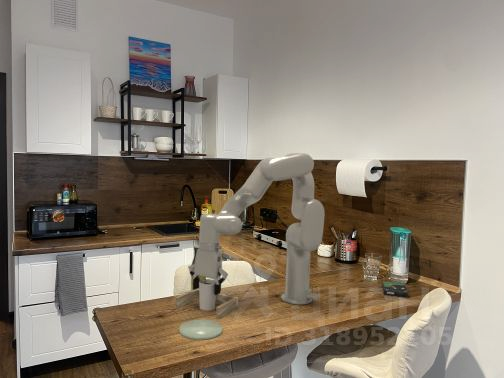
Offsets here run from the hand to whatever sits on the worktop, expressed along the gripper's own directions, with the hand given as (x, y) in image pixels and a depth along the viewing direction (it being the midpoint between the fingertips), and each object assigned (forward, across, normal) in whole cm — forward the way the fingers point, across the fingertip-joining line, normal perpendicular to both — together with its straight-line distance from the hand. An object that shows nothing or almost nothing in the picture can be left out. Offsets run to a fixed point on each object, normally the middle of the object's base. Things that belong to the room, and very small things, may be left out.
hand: (206, 291), depth 152 cm
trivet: (+6, -10, +18) cm, 21 cm away
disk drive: (+5, -58, -64) cm, 87 cm away
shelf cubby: (+6, 0, 0) cm, 6 cm away
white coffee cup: (+6, 0, 0) cm, 7 cm away
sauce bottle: (+6, +13, -12) cm, 19 cm away
